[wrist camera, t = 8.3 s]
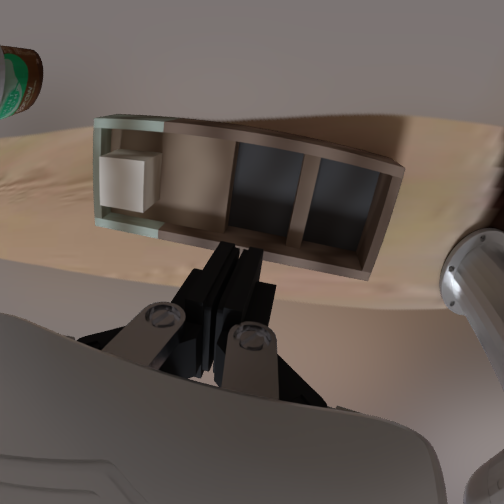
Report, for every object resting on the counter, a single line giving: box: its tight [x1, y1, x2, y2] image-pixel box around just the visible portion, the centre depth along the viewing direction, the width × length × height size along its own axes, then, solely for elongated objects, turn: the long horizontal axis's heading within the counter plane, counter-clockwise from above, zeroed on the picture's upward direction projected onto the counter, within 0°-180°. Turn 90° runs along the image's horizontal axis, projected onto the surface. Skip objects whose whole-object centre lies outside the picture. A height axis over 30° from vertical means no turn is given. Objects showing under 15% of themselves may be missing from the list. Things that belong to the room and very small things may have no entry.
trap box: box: [93, 114, 405, 281], centre depth 30 cm, size 30×12×4 cm, turn 82°
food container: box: [0, 46, 43, 120], centre depth 25 cm, size 12×6×10 cm, turn 145°
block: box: [99, 149, 162, 213], centre depth 29 cm, size 5×5×4 cm
